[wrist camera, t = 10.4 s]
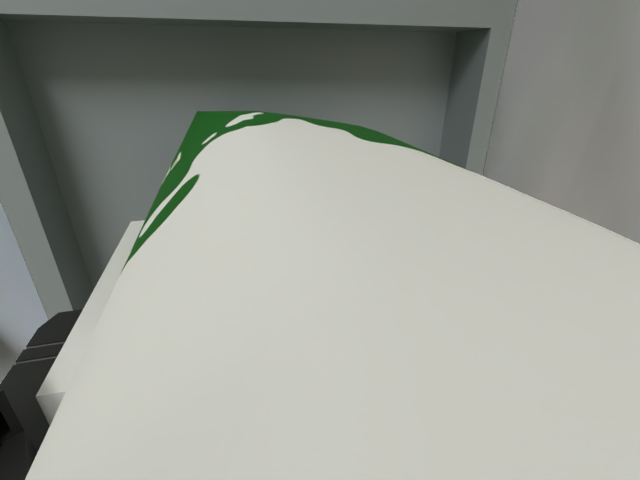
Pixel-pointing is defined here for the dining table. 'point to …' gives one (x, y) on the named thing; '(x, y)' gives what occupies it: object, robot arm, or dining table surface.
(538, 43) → the dining table surface
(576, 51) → the dining table surface
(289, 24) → the tray
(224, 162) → the soya milk
